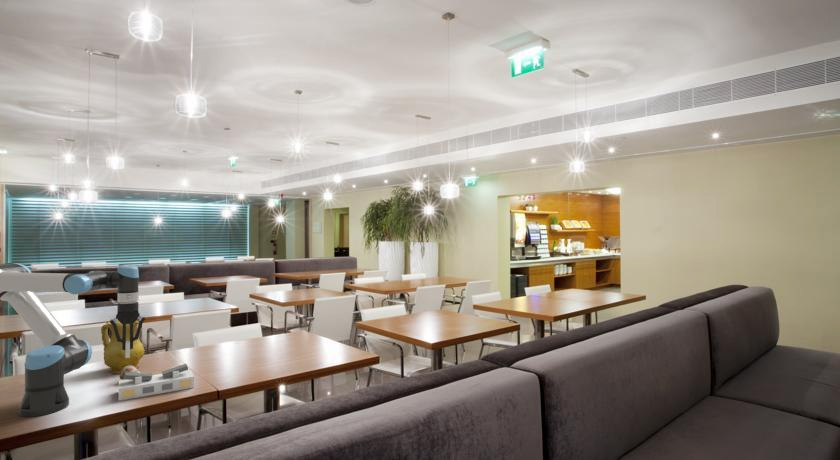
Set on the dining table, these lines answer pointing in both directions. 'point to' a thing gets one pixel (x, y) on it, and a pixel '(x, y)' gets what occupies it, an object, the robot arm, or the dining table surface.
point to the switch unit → (155, 385)
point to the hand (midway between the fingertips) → (127, 357)
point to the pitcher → (120, 348)
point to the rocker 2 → (170, 371)
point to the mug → (128, 369)
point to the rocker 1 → (132, 376)
